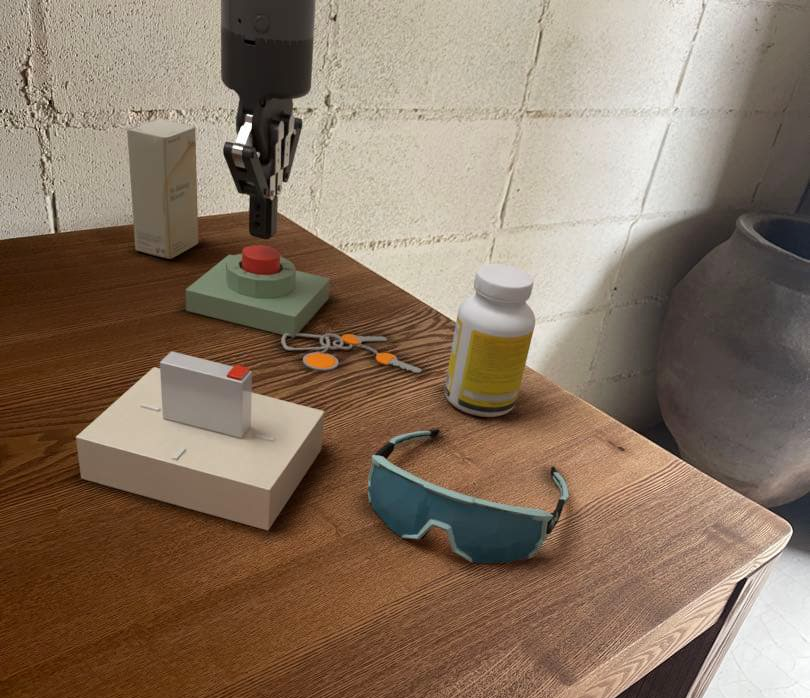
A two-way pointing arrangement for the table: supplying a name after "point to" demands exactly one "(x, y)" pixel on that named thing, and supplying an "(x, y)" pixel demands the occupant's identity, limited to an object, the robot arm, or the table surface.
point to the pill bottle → (491, 342)
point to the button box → (258, 296)
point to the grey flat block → (206, 394)
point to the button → (261, 260)
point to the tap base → (202, 455)
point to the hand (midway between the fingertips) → (262, 235)
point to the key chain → (329, 362)
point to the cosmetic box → (163, 187)
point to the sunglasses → (457, 512)
